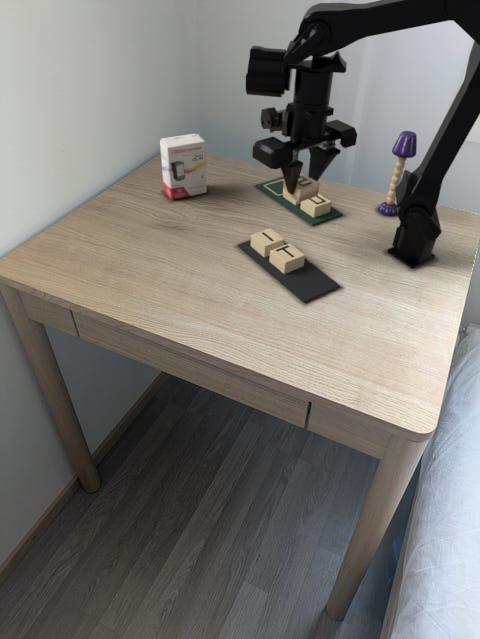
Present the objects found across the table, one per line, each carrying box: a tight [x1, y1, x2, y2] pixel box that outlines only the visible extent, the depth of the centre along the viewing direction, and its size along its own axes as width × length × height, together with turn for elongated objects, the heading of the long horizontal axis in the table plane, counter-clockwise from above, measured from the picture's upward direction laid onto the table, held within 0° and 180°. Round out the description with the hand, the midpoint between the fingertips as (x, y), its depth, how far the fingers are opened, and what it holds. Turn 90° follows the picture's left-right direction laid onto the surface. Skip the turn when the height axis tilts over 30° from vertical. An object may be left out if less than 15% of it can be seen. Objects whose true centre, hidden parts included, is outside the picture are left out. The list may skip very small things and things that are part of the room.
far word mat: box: [255, 176, 343, 227], centre depth 107 cm, size 20×8×3 cm, turn 34°
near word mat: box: [237, 228, 341, 304], centre depth 89 cm, size 20×8×3 cm, turn 34°
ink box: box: [159, 133, 208, 200], centre depth 106 cm, size 9×5×12 cm, turn 116°
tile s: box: [283, 173, 320, 202], centre depth 88 cm, size 4×4×3 cm
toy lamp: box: [377, 130, 418, 217], centre depth 100 cm, size 5×5×17 cm
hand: (300, 189), depth 88 cm, fingers closed on tile s, 4 cm apart
